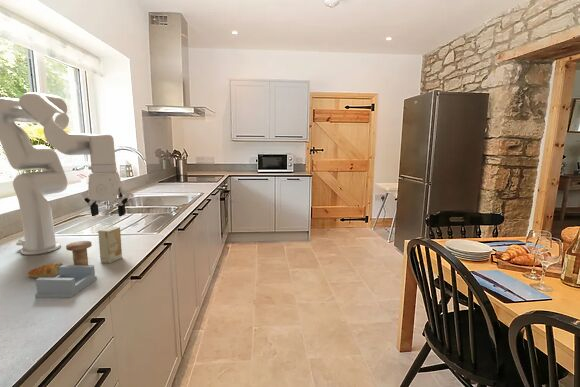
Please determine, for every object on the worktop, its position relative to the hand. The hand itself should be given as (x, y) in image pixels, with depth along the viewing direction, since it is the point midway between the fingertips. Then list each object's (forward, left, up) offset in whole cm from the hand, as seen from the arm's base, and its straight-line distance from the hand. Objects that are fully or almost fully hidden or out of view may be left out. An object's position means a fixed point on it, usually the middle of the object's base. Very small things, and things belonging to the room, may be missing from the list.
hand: (108, 215), depth 110 cm
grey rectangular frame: (-1, -22, -17) cm, 28 cm away
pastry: (-14, -13, -18) cm, 26 cm away
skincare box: (0, 0, -18) cm, 18 cm away
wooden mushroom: (-4, -11, -17) cm, 21 cm away
